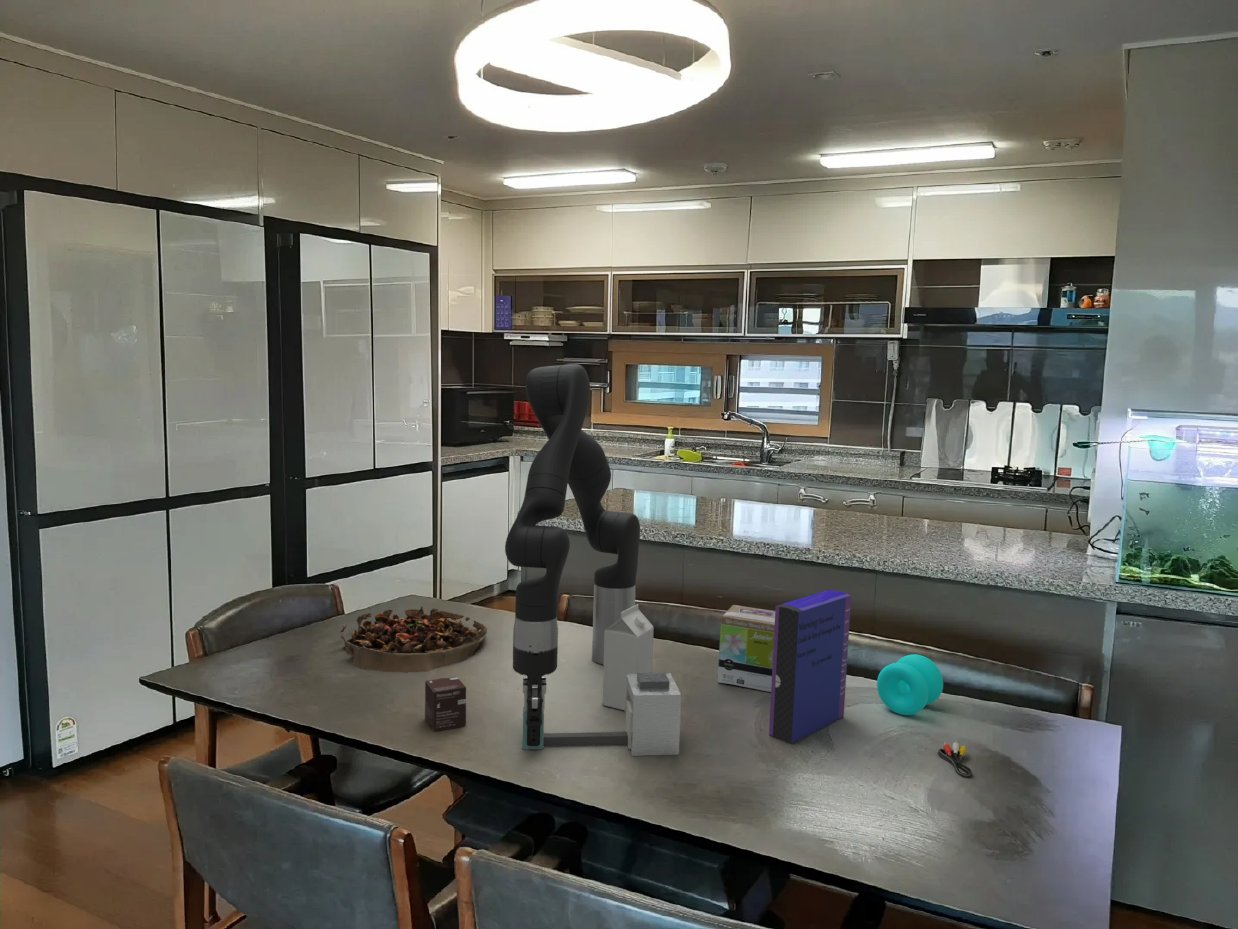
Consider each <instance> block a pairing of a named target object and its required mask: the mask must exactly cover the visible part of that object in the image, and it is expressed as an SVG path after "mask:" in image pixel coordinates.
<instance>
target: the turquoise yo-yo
mask: <svg viewBox="0 0 1238 929" xmlns="http://www.w3.org/2000/svg"><path fill="white" fill-rule="evenodd" d="M876 689H877V693H878V696H879V698H880V700H881V701H882V703H883V704H884V705H885V706H886V708H888V709H889V710H890V711H892V712H893V713H895V714H897V715H898V714H899V715H902V716H912V715H915V714H918V713H919V712H921V711H923V709H924V708H925V707H926V706H929V705H931V704H933V703H935V702H936V701H938V699H939V698H940V697H941V695H942V693H943V690H944V679H943V675H942V673H941V670H940V669H939V667H938V666H937V665H936V664H935V663H934V661H933V660H931V659H930V658H929V657H926V656H923V655H921V654H915V653H913V654H908V655H905V656H902V657H901V658H899V660H897V662H893V663H890V664H887V665H886V666H884V667H883V668H882V669H881V670H880V672H879V674H878V676H877V680H876Z"/></svg>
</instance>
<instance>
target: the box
mask: <svg viewBox="0 0 1238 929" xmlns="http://www.w3.org/2000/svg"><path fill="white" fill-rule="evenodd" d="M424 684H425V685H424V686H425V687H424V692H425V693H424V694H425V695H424V720H425V721H426V723H427V724H429V726H430V728H431V729H432V731H433V732H438V731H444V730H450V729H456V728H462V727H465V726H466V725H467V686H465V684H464V683H463V682H462V681H461V680H460V679H459V677H457V676H454V677H442V678H437V679H431V680H425V683H424Z"/></svg>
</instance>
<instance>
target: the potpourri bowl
mask: <svg viewBox="0 0 1238 929" xmlns="http://www.w3.org/2000/svg"><path fill="white" fill-rule="evenodd" d="M392 613H393V610H392V609H387V610H384V611H383V612H382V613H377V614H375V616H374V623H373V622H372V621H370V620H367V619H368V618H371V617H372V615H373V614H372V613H370V612H369V613H364V614H362V615H359V616H357V619H356V622H357V627H358V628H357V629H358V630H357V629H355V630H354V631H352V634H351V638H349V639H347V640H346V639H345V636H344V635H343V634H342V633H343V632H344V630H346V628H347V623H344V624H343V625H342V626H341V629H340V631H339V632H340V633H339V636H340V639H342V640H343V641H344V651H345V652H346V653H347V654H348V655H349V656H350V657H352V658H353V659H352V662H351V663H352V665H353V666H356V667H358V668H359V669H362V670H368V671H372V670H373V671H379V672H381V673H404V674H408V673H423V672H431V671H434V670H435V669H440V668H443V667H449V666H452V665H455V664H459V663H462V662H465V661H467V660H468V659H469V657H473V656H474V653H475V651H476V650H477V649H479V648H480V644H481V642H483V641H484V640H485V639H486V637H487V634H488V628H487V626H485V624H482V623H481V622H478V621H477V620H473V624H472V628H471V629H470V628H469V627H468V626H464V624H463V622H462V620H461V619H463V618H464V617H465V615H463V614H457V613H453V612H449V611H448V612H447V611H443V610H439V609H438V608H432V609H430V612H429V614H427V613H425V610H424V609H423V606H420V608H419V609H417V608H412V609H411V608H408V609H405V610H404V613H405V616H406V617H405V618H403V617H401V618H400V617H399V615H398V614H397V613H395V614H393V615H392ZM391 615H392V616H391ZM390 616H391V618H390ZM449 619H451V620H449ZM464 619H465V622H467V621H469V620H471V618H470V617H469V616H467V617H465V618H464ZM363 620H365V621H363ZM458 620H459V622H458ZM362 622H363V623H362Z"/></svg>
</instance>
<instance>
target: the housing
mask: <svg viewBox="0 0 1238 929" xmlns="http://www.w3.org/2000/svg"><path fill="white" fill-rule="evenodd" d="M626 701H632V704H633V705H632V736H631V749H630V754H631V756H632V757H638V756H641V757H642V756H645V757H646V756H674V755H675V756H678V755H680V735H681V734H680V733H681V712H682V710H681V709H682V693H681V691H680V690H679V687H678V686H677V682H676V681H675V679H674V677H673V676H672V673H671V672H668V673H666V672H652V673H637V674H626V699H625V710H624V729H623V730H624V731H623V732H626Z"/></svg>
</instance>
